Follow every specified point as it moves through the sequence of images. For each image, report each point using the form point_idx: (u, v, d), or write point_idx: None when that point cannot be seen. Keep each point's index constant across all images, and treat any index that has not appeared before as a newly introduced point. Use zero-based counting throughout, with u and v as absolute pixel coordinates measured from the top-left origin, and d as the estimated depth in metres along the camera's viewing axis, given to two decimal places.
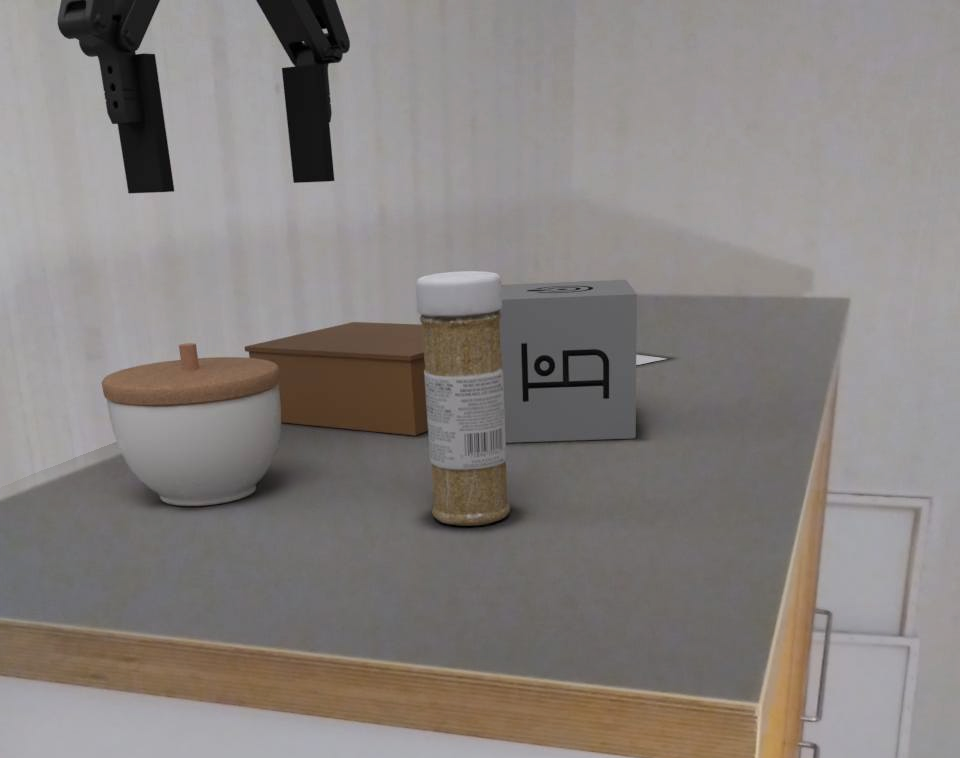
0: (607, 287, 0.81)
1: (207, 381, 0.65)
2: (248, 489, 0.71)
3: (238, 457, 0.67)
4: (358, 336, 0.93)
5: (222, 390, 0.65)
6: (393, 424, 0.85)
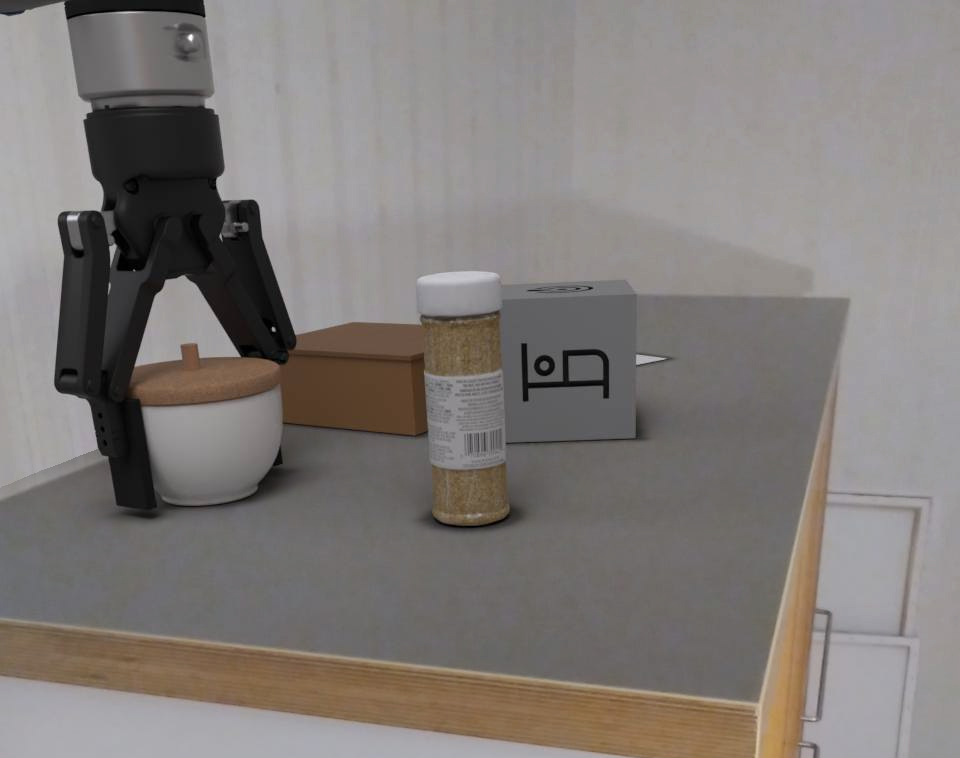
0: (607, 287, 0.81)
1: (209, 381, 0.65)
2: (250, 489, 0.71)
3: (239, 457, 0.68)
4: (358, 336, 0.93)
5: (224, 390, 0.65)
6: (393, 424, 0.85)
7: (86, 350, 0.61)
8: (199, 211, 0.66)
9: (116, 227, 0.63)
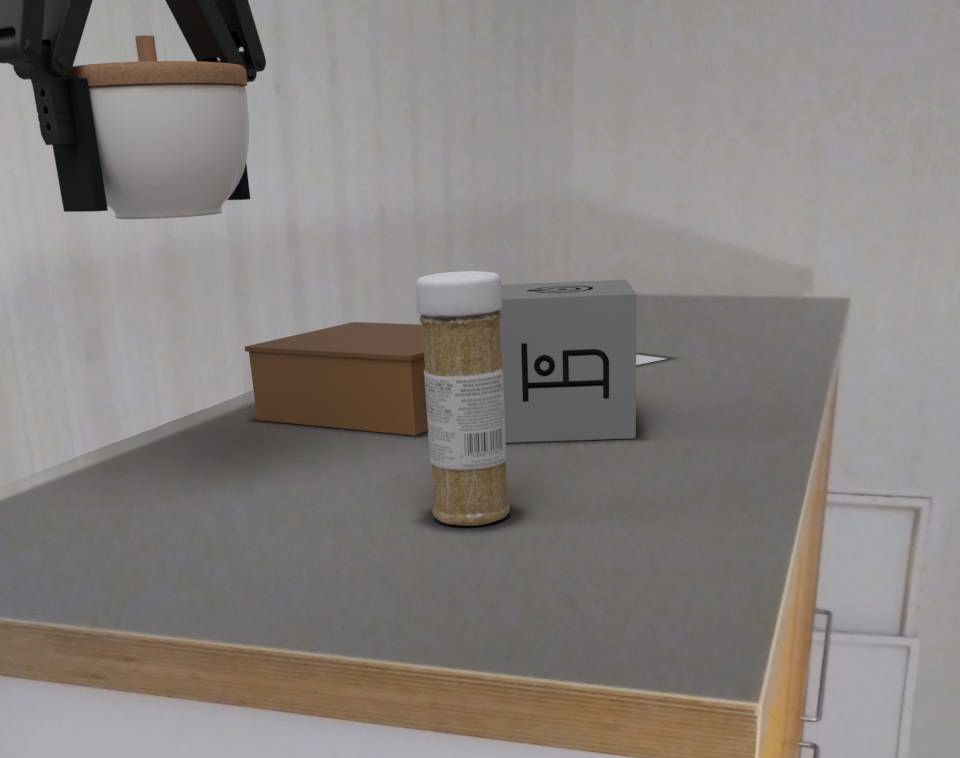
0: (607, 287, 0.81)
1: (165, 61, 0.59)
2: (212, 207, 0.65)
3: (199, 157, 0.61)
4: (358, 336, 0.93)
5: (181, 71, 0.59)
6: (393, 424, 0.85)
7: (24, 4, 0.55)
8: None
9: None
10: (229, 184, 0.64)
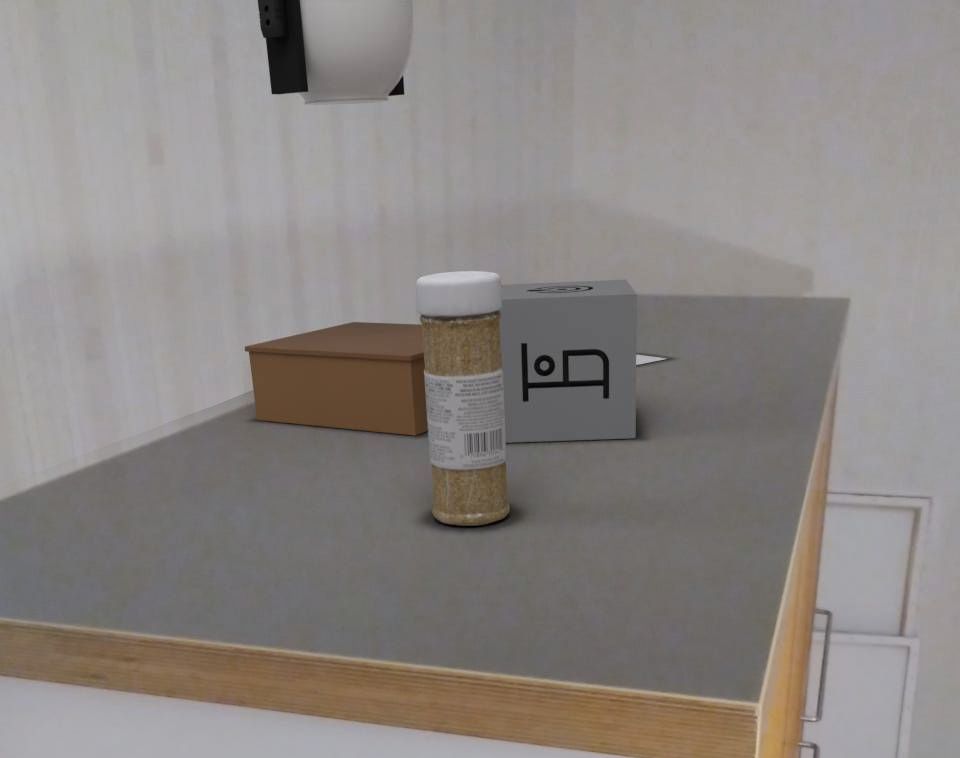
0: (607, 287, 0.81)
1: None
2: (384, 93, 0.81)
3: (380, 48, 0.77)
4: (358, 336, 0.93)
5: None
6: (393, 424, 0.85)
7: None
8: None
9: None
10: (398, 74, 0.80)
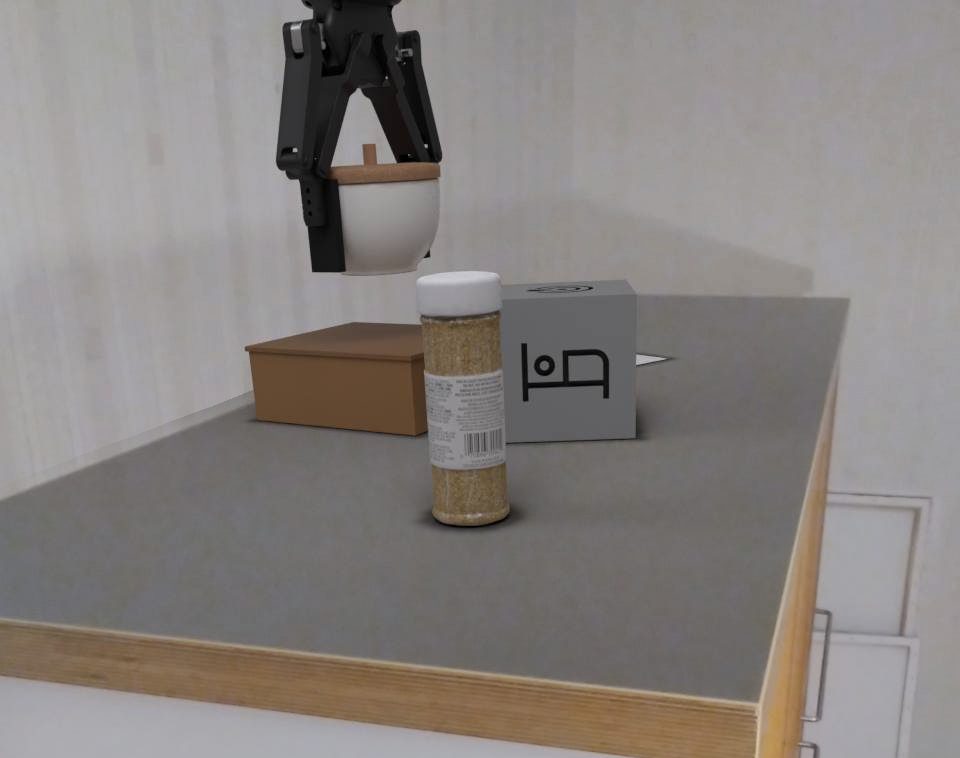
0: (607, 287, 0.81)
1: (392, 165, 0.82)
2: (413, 265, 0.88)
3: (412, 232, 0.85)
4: (358, 336, 0.93)
5: (404, 172, 0.82)
6: (393, 424, 0.85)
7: (304, 131, 0.79)
8: (380, 33, 0.84)
9: (324, 37, 0.80)
10: (427, 249, 0.88)
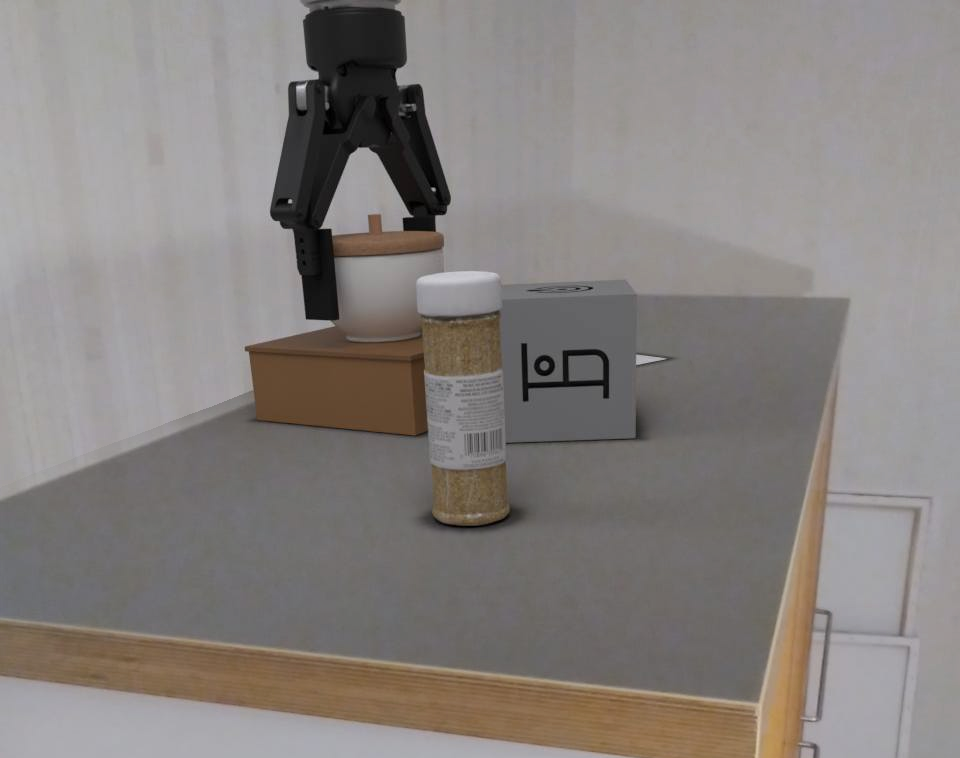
0: (607, 287, 0.81)
1: (397, 238, 0.85)
2: (417, 331, 0.90)
3: (416, 301, 0.87)
4: None
5: (409, 244, 0.84)
6: (393, 424, 0.85)
7: (301, 183, 0.79)
8: (384, 95, 0.85)
9: (329, 99, 0.81)
10: None
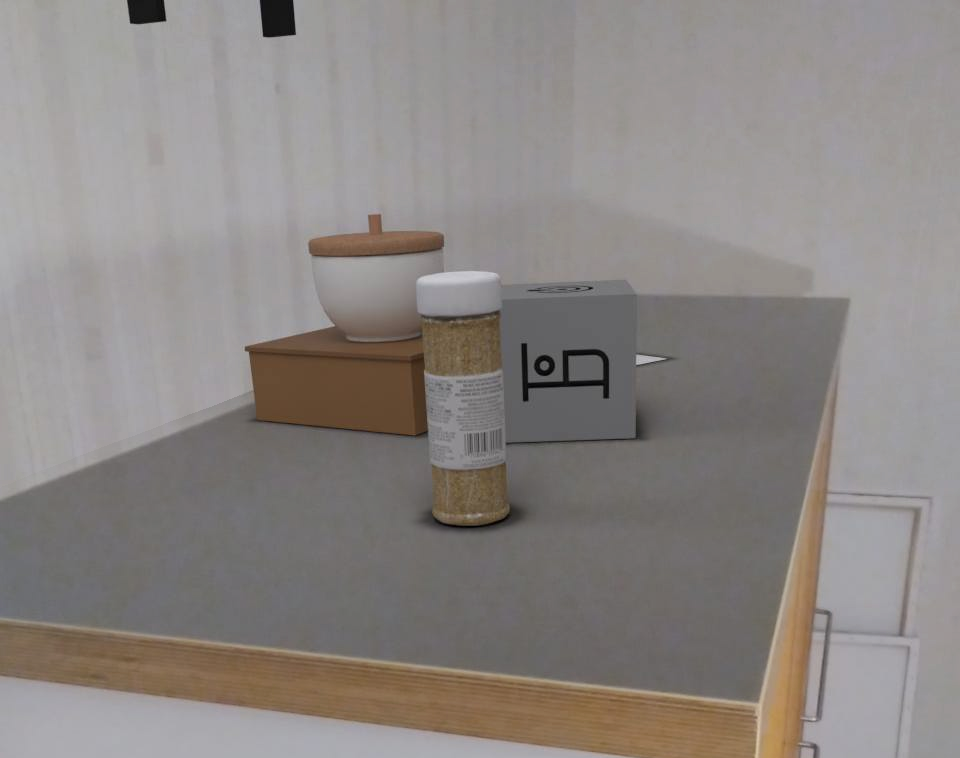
0: (607, 287, 0.81)
1: (397, 238, 0.85)
2: (417, 331, 0.90)
3: (416, 301, 0.87)
4: None
5: (409, 244, 0.84)
6: (393, 424, 0.85)
7: None
8: None
9: None
10: None
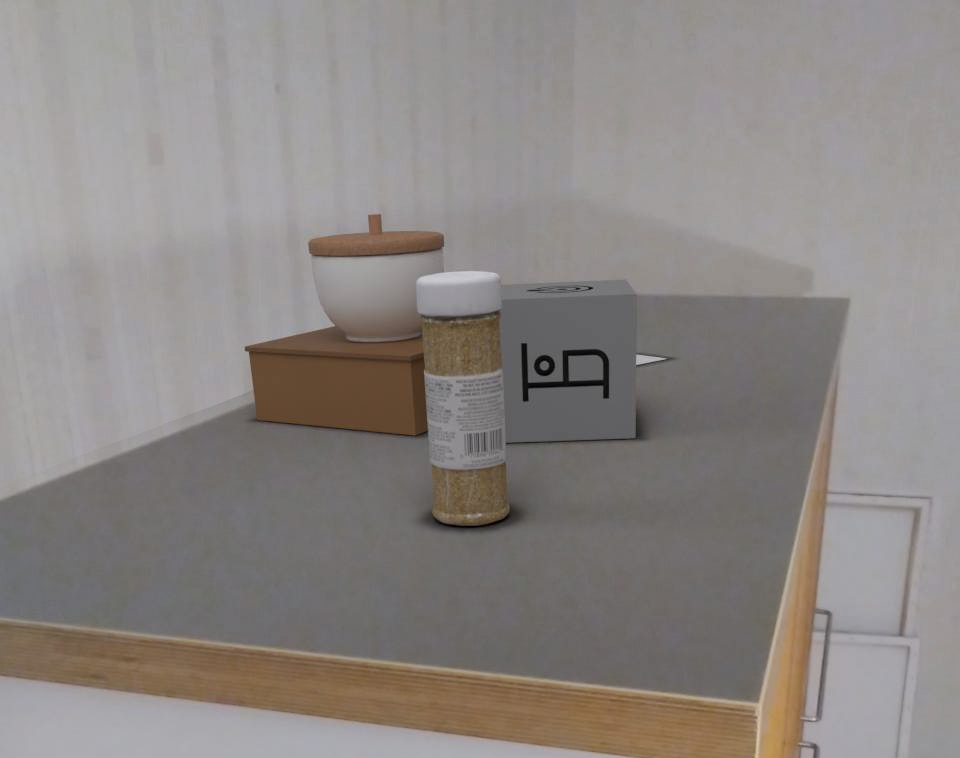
0: (607, 287, 0.81)
1: (397, 238, 0.85)
2: (417, 331, 0.90)
3: (416, 301, 0.87)
4: None
5: (409, 244, 0.84)
6: (393, 424, 0.85)
7: None
8: None
9: None
10: None
